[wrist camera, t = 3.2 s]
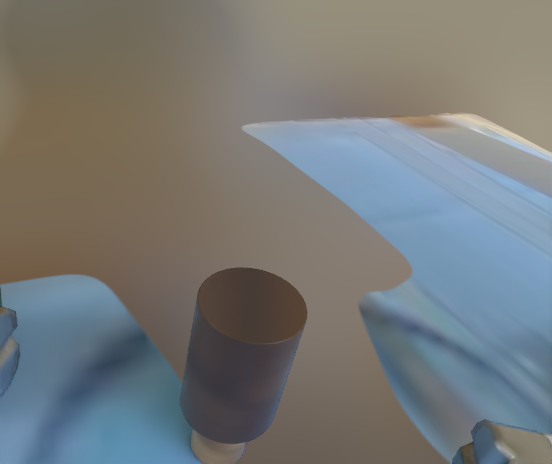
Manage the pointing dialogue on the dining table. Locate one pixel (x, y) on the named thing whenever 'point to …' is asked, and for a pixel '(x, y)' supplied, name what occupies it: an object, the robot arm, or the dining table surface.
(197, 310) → the stopper
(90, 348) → the dining table surface
